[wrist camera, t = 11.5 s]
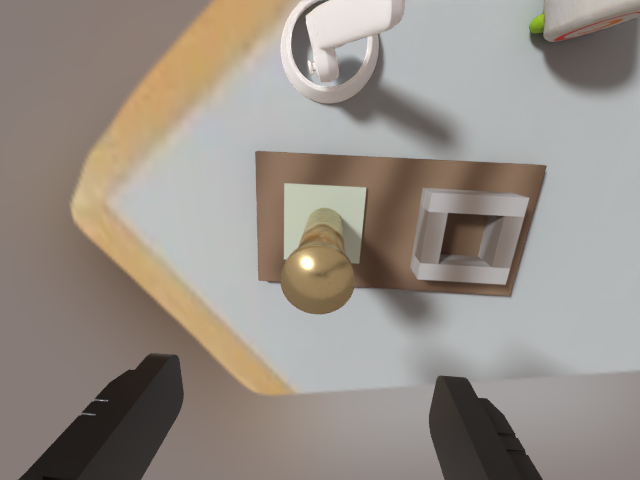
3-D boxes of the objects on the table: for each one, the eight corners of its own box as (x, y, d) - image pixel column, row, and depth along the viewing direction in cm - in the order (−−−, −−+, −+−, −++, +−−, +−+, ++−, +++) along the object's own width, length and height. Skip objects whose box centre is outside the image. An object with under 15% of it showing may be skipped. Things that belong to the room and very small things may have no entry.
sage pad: (366, 187, 26) (366, 187, 25) (358, 262, 28) (359, 263, 27) (284, 183, 26) (284, 183, 25) (284, 258, 28) (283, 259, 28)
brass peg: (348, 204, 26) (357, 249, 15) (345, 247, 27) (351, 316, 17) (302, 202, 26) (280, 245, 15) (301, 245, 27) (280, 311, 17)
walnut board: (538, 164, 25) (569, 168, 22) (504, 290, 29) (526, 310, 26) (258, 151, 26) (247, 152, 23) (260, 276, 30) (251, 293, 26)
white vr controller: (471, 74, 19) (396, 108, 16) (350, 92, 28) (289, 115, 25) (471, -88, 15) (373, -80, 12) (331, -6, 24) (258, 9, 22)
